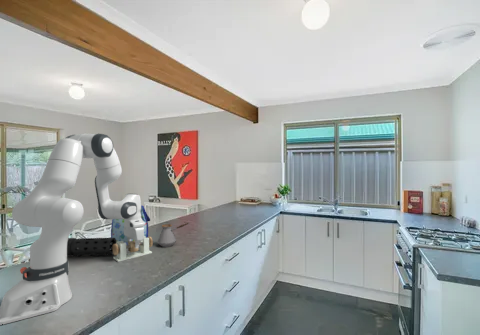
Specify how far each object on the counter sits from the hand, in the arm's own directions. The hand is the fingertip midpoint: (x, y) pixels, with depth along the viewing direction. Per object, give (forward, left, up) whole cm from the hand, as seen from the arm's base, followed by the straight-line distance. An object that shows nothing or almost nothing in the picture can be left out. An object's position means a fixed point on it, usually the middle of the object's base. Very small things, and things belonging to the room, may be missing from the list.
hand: (133, 245), depth 143 cm
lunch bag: (+9, +27, -6) cm, 29 cm away
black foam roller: (-18, +19, -6) cm, 27 cm away
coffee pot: (+26, 0, -6) cm, 27 cm away
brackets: (0, 0, -6) cm, 6 cm away
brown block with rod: (0, 0, -3) cm, 3 cm away
